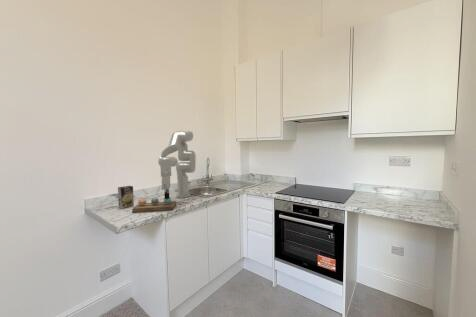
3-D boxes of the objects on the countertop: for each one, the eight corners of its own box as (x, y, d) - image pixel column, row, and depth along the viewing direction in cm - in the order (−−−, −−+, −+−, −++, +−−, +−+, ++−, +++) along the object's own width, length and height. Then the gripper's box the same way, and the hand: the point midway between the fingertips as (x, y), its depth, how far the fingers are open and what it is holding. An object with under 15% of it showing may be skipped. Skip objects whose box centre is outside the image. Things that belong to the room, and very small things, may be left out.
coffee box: (122, 209, 157) (120, 188, 156) (118, 207, 161) (117, 187, 160) (134, 206, 164) (133, 186, 163) (130, 204, 168) (129, 185, 167)
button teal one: (164, 201, 160) (164, 197, 159) (171, 201, 160) (171, 197, 160) (163, 203, 155) (163, 199, 154) (170, 202, 155) (170, 199, 155)
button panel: (138, 207, 161) (138, 203, 161) (175, 204, 165) (175, 201, 165) (132, 213, 148) (132, 208, 147) (172, 210, 152) (172, 206, 151)
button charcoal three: (152, 202, 158) (152, 198, 158) (159, 201, 159) (159, 198, 159) (150, 204, 153) (150, 200, 153) (157, 203, 154) (157, 199, 154)
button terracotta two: (139, 203, 157) (139, 199, 157) (146, 202, 158) (146, 198, 157) (137, 204, 152) (137, 200, 152) (144, 204, 153) (144, 200, 153)
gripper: (162, 173, 163) (163, 196, 164) (158, 175, 148) (159, 201, 149) (172, 172, 164) (173, 195, 165) (169, 175, 149) (170, 200, 150)
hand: (167, 198), depth 157 cm, fingers closed
